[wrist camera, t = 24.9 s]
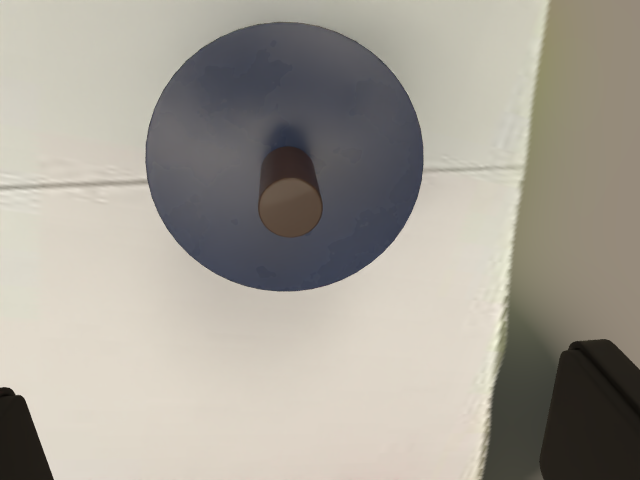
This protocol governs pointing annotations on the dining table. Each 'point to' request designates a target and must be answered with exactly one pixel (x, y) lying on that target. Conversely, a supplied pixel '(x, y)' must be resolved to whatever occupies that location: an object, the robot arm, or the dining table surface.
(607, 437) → the robot arm
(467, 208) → the dining table surface
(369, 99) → the tin lid
